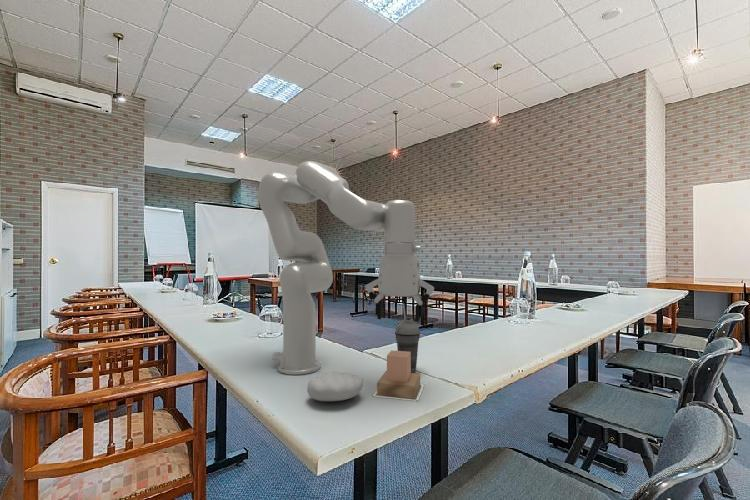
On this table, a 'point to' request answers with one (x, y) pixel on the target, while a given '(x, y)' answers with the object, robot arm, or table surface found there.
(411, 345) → the beverage cup
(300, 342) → the robot arm
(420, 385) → the pale flat square plate
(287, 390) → the table surface
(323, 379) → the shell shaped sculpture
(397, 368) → the terracotta block
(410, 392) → the walnut slab
